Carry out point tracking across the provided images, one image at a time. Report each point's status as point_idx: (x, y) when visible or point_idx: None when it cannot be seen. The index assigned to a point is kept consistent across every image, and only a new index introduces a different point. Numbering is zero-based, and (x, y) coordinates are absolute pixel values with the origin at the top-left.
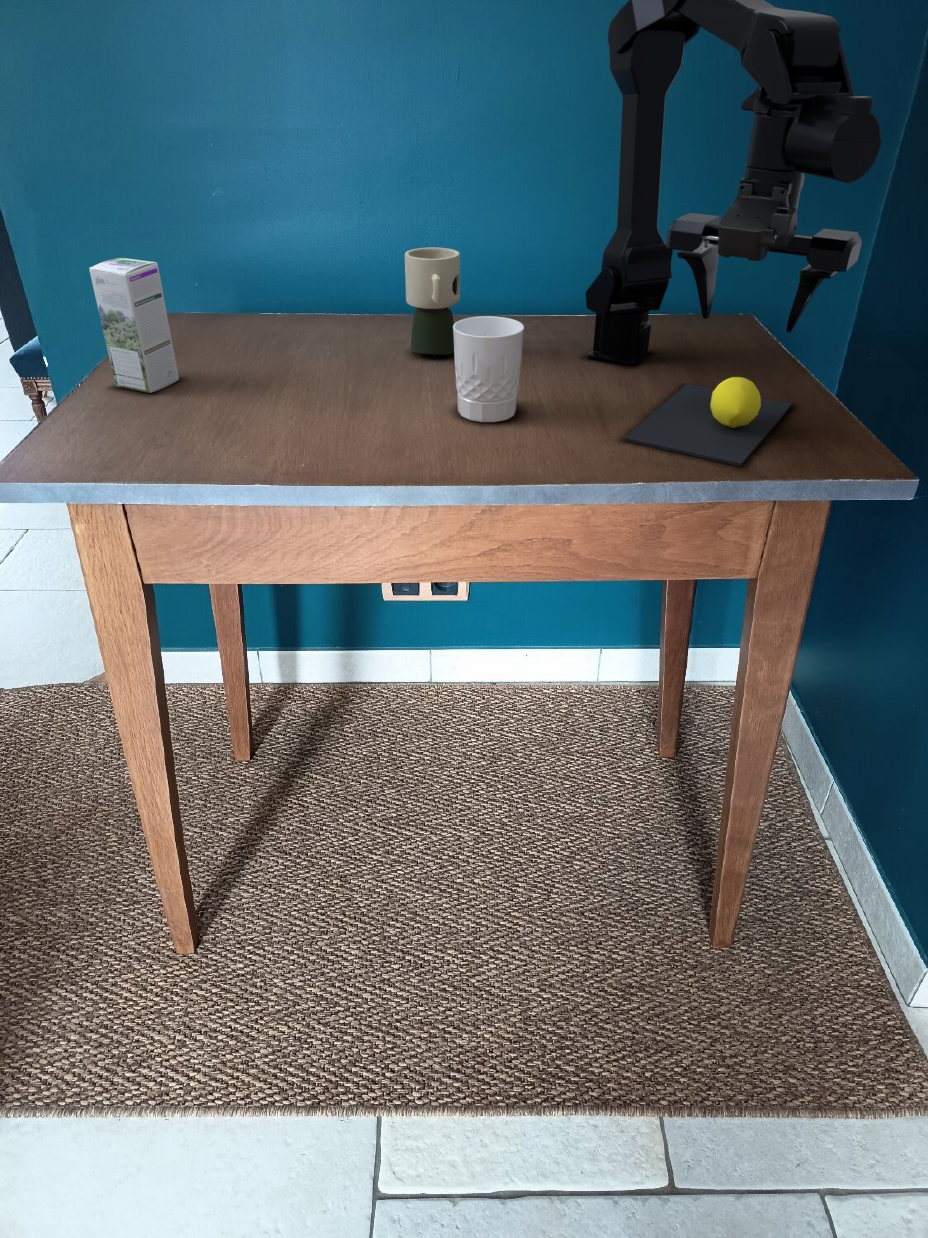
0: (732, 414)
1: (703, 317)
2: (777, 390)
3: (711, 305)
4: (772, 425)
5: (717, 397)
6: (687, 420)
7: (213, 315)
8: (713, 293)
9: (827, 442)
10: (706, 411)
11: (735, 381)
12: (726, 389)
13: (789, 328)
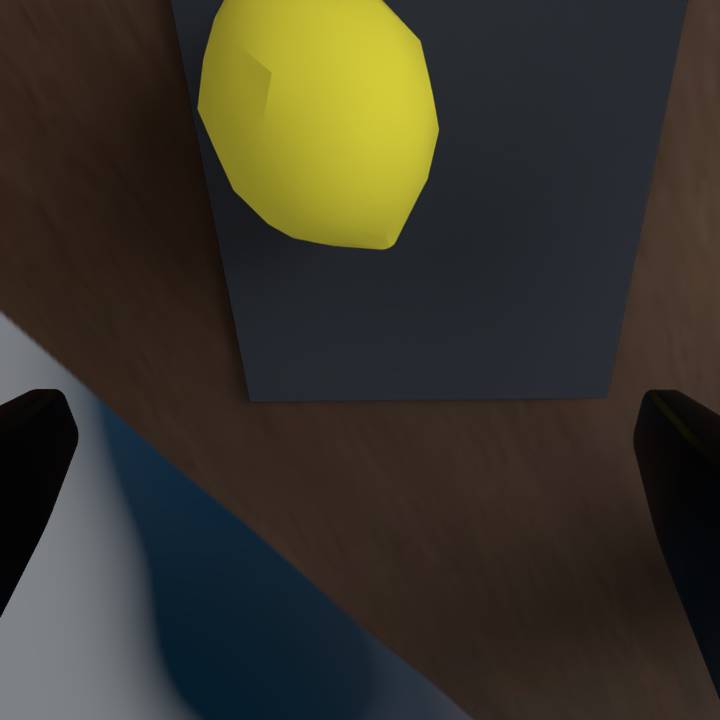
0: None
1: (670, 390)
2: (337, 483)
3: (654, 505)
4: (209, 187)
5: (380, 12)
6: (511, 37)
7: None
8: (688, 600)
9: (13, 172)
10: (469, 185)
11: (313, 102)
12: (339, 32)
13: (25, 399)
